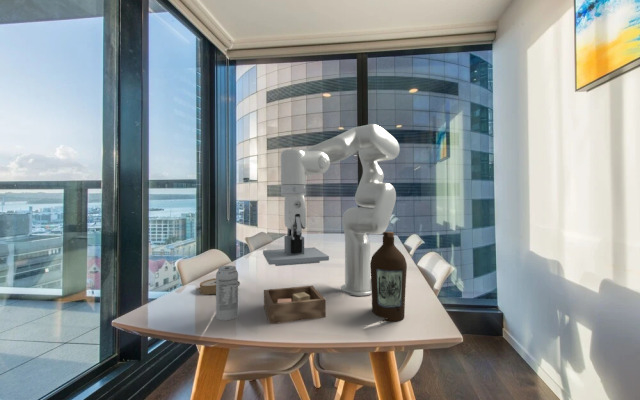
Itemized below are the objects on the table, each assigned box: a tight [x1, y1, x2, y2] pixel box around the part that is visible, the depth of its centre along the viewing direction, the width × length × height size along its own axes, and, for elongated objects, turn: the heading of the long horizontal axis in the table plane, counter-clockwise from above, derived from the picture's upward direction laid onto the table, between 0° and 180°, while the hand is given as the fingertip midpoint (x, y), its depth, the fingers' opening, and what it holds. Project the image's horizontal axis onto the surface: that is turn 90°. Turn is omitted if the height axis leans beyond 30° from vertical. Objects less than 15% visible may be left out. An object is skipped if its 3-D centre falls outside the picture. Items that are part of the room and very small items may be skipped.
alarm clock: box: [196, 277, 241, 295], centre depth 111 cm, size 11×5×15 cm
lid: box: [262, 235, 330, 267], centre depth 88 cm, size 17×15×7 cm
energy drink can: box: [215, 265, 239, 321], centre depth 84 cm, size 6×6×15 cm
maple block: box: [293, 292, 310, 301], centre depth 91 cm, size 4×4×4 cm
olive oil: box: [370, 231, 408, 323], centre depth 87 cm, size 11×11×25 cm
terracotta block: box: [278, 299, 291, 303], centre depth 85 cm, size 4×4×4 cm
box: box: [263, 285, 327, 325], centre depth 88 cm, size 16×14×6 cm
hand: (294, 250), depth 88 cm, fingers closed on lid, 5 cm apart
